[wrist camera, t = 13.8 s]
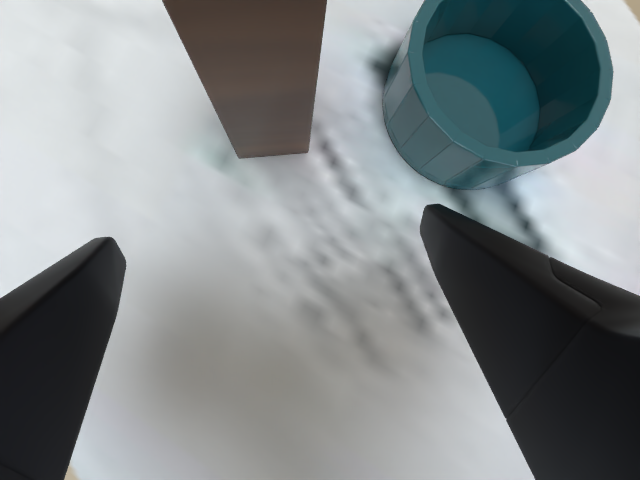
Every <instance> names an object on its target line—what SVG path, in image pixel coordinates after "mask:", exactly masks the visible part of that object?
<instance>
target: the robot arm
mask: <svg viewBox="0 0 640 480" xmlns="http://www.w3.org/2000/svg"><path fill="white" fill-rule="evenodd" d="M420 234H421V237H422V240H423V243H424V246H425V249H426V251H427V254H428V257H429V260H430V263H431V266H432V269H433V271H434V274H435V276H436V278H437V280H438V283H439V285H440V287H441V289H442V291H443V293H444V295H445V297H446V299H447V301H448V303H449V305H450V307H451V309H452V311H453V313H454V315H455V317H456V319H457V321H458V323H459V325H460V327H461V329H462V331H463V333H464V335H465V337H466V339H467V341H468V343H469V345H470V347H471V349H472V352H473V354H474V356H475V358H476V360H477V362H478V364H479V366H480V368H481V370H482V372H483V374H484V376H485V378H486V380H487V382H488V384H489V386H490V388H491V390H492V392H493V394H494V396H495V398H496V400H497V402H498V404H499V406H500V408H501V410H502V412H503V414H504V416H505V418H507V419H506V421H507V423H508V425H509V427H510V429H511V431H512V433H513V435H514V437H515V439H516V441H517V443H518V445H519V447H520V449H521V451H522V453H523V455H524V457H525V460H526V462H527V464H528V466H529V468H530V470H531V472H532V474H533V476H534V478H535V480H640V296H639V295H636V294H634V293H631V292H629V291H626V290H624V289H622V288H619V287H617V286H614V285H612V284H610V283H607V282H605V281H603V280H600V279H598V278H595V277H593V276H591V275H588V274H586V273H584V272H582V271H580V270H577V269H575V268H573V267H571V266H569V265H567V264H564V263H562V262H560V261H558V260H556V259H554V258H552V257H550V258H549V256H548V255H546V254H543V253H541V252H539V251H537V250H535V249H533V248H531V247H529V246H527V245H525V244H522V243H520V242H518V241H516V240H514V239H512V238H510V237H508V236H506V235H504V234H502V233H499V232H497V231H495V230H493V229H491V228H489V227H487V226H485V225H483V224H481V223H479V222H476V221H474V220H472V219H470V218H468V217H466V216H464V215H462V214H460V213H458V212H456V211H453V210H451V209H449V208H447V207H445V206H443V205H441V204H432V205H427V206H425V208H424V211H423V216H422V220H421V225H420ZM125 270H126V260H125V257H124V255H123V254H122V252H121V250H120V248H119V247H118V245H117V243H116V241H115V240H114V239H113V238H112V237H101V238H95V239H93V240H91V241H90V242H88V243H86V244H85V245H83V246H82V247H80V248H79V249H77V250H75V251H74V252H72V253H71V254H69V255H68V256H66V257H65V258H63V259H61V260H60V261H58V262H57V263H55V264H54V265H52V266H50V267H49V268H47V269H46V270H44V271H43V272H41V273H39V274H38V275H36V276H35V277H33V278H32V279H30V280H28V281H27V282H25V283H24V284H22V285H21V286H19V287H17V288H16V289H14V290H13V291H11V292H10V293H8V294H7V295H5V296H3V297H2V298H0V480H64V478H65V475H66V472H67V469H68V466H69V463H70V460H71V456H72V453H73V450H74V447H75V444H76V441H77V438H78V435H79V432H80V428H81V425H82V422H83V419H84V416H85V413H86V410H87V407H88V403H89V400H90V397H91V394H92V391H93V388H94V385H95V382H96V378H97V375H98V372H99V369H100V366H101V363H102V360H103V357H104V353H105V350H106V347H107V344H108V341H109V338H110V335H111V332H112V329H113V325H114V322H115V319H116V316H117V312H118V307H119V302H120V297H121V292H122V286H123V281H124V276H125Z"/></svg>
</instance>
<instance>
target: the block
mask: <svg viewBox="0 0 640 480" xmlns="http://www.w3.org/2000/svg"><path fill="white" fill-rule="evenodd" d="M162 2H163V4H164V6H165V8H166V10H167V12H168V14H169V16H170V18H171V20H172V22H173V24H174V26H175V28H176V30H177V32H178V34H179V37H180V39H181V41H182V43H183V45H184V47H185V49H186V51H187V53H188V55H189V57H190V59H191V61H192V63H193V65H194V67H195V69H196V72H197V74H198V76H199V78H200V80H201V82H202V84H203V86H204V88H205V90H206V92H207V94H208V96H209V98H210V100H211V102H212V104H213V107H214V109H215V111H216V113H217V115H218V117H219V119H220V121H221V123H222V125H223V127H224V129H225V131H226V133H227V135H228V137H229V139H230V142H231V144H232V146H233V148H234V150H235V152H236V154H237V156H238V158H248V157H260V156H272V155H284V154H297V153H308V150H309V142H310V134H311V125H312V117H313V109H314V101H315V93H316V85H317V77H318V69H319V61H320V53H321V45H322V37H323V29H324V20H325V12H326V4H327V0H162Z"/></svg>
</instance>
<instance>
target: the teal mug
mask: <svg viewBox="0 0 640 480" xmlns="http://www.w3.org/2000/svg"><path fill="white" fill-rule="evenodd" d="M612 81H613V66H612V61H611V56H610V52H609V47H608V43H607V40H606V37H605V35H604V33H603V32H602V30H601V28H600V26H599V24H598V22H597V21H596V19H595V17H594V15H593V13H592V12H590V9H589V8H588V7H587V6H586V5H585V4H584V3H583V2H582V1H581V0H424V2H423V4H422V6H421V8H420V9H419V11H418V13H417V15H416V16H415V18H414V20H413V22H412V24H411V26H410V28H409V30H408V32H407V34H406V37H405V39H404V41H403V43H402V45H401V47H400V49H399V51H398V53H397V55H396V58H395V60H394V62H393V64H392V66H391V68H390V71H389V74H388V77H387V79H386V83H385V87H384V93H383V114H384V120H385V124H386V127H387V130H388V133H389V135H390V138H391V140H392V142H393V144H394V145H395V147H396V149H397V150H398V152H399V153H400V154H401V156H402V157H403V158H404V160H405V161H406V162H407V163H408V164H409V165H410V166H411V167H412V168H414V169H415V170H416V171H417V172H419V173H420V174H421V175H423V176H425V177H426V178H428V179H430V180H431V181H434V182H436V183H438V184H441V185H444V186H447V187H451V188H456V189H463V190H476V189H485V188H488V187H492V186H496V185H499V184H502V183H504V182H507V181H509V180H511V179H514V178H516V177H518V176H521V175H523V174H525V173H528V172H530V171H533V170H535V169H537V168H540V167H542V166H544V165H547V164H549V163H551V162H553V161H555V160H558V159H560V158H562V157H564V156H566V155H568V154H570V153H572V152H574V151H576V150H577V149H578V148H579V147H580V146H581V145H582V144H583V143H584V142H585V141H586V140H587V139H588V138H589V137H590V136H591V135H592V134H593V133H594V132H595V131H596V130H597V128H598V127H599V125H600V123H601V121H602V119H603V116H604V114H605V112H606V110H607V108H608V105H609V103H610V100H611V92H612Z"/></svg>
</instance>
